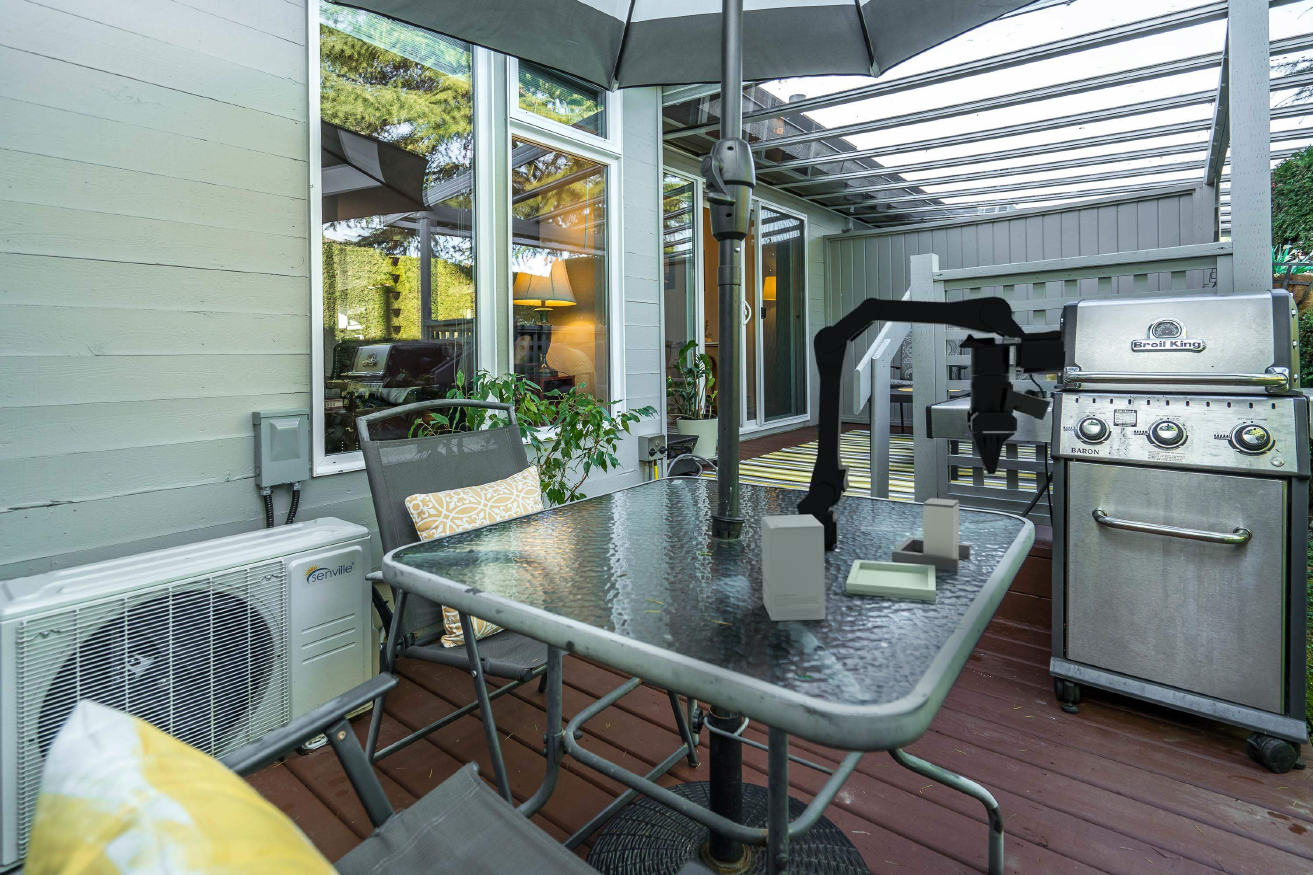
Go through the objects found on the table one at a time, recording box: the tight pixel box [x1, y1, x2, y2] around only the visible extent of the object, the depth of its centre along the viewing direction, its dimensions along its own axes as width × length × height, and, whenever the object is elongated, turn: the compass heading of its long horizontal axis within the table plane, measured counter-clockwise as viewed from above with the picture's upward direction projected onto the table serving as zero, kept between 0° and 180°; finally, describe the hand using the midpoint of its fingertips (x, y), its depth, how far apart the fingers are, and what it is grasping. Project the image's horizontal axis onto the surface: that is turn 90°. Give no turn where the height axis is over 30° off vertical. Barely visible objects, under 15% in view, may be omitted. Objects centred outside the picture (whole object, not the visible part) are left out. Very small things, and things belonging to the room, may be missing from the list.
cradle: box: [891, 537, 971, 573], centre depth 110 cm, size 10×10×2 cm
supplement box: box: [760, 514, 826, 622], centre depth 89 cm, size 7×7×13 cm
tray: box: [845, 559, 937, 602], centre depth 99 cm, size 12×12×2 cm
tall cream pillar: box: [922, 497, 960, 559], centre depth 109 cm, size 4×4×10 cm
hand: (989, 469), depth 110 cm, fingers open, 9 cm apart
